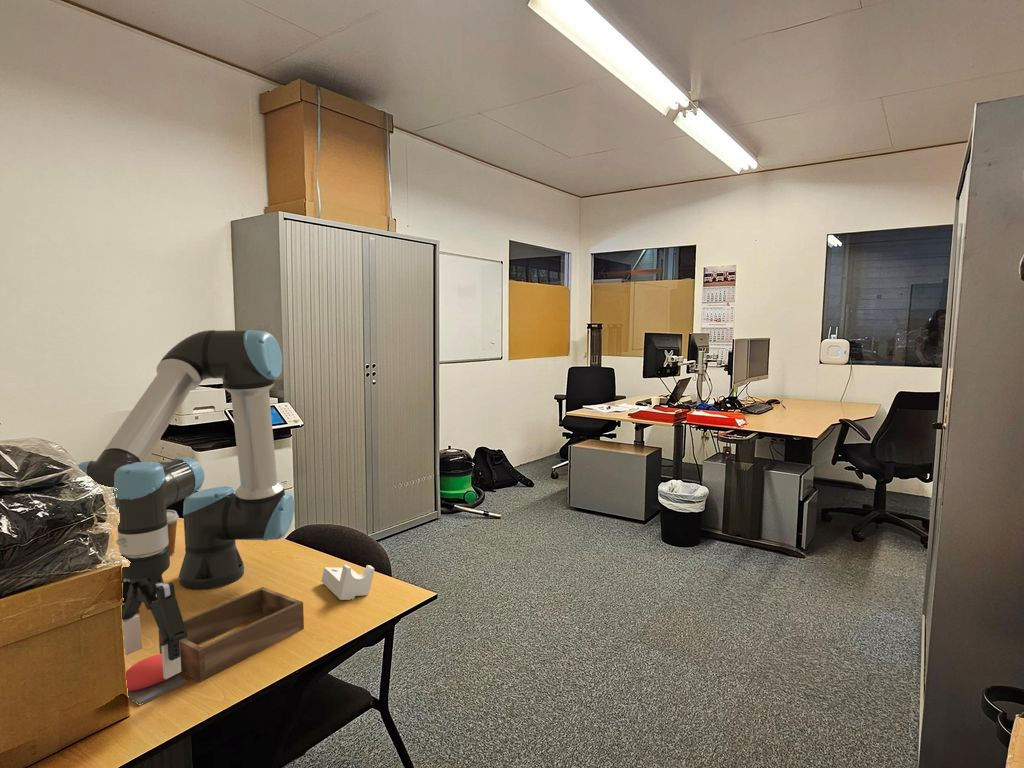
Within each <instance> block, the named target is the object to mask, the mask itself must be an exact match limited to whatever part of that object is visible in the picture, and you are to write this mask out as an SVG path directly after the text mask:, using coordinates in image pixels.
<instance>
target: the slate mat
mask: <svg viewBox="0 0 1024 768" xmlns="http://www.w3.org/2000/svg"><path fill="white" fill-rule="evenodd" d="M184 684H187V679H186V678H185V677H183V676H180V674H176V675H174V676H172V677H170V678H169V679H167V680H165V681H162V682H160V683H157V684H154V685H152V686H149V687H147V688H144V689H140V690H135V691H128V696H129V698H128V699H129V700H130V699H131V700H130V701H132V700H134V701H135V702H137V703H138V704H142V703H145V702H147V703H148V701H149V702H150V700H151V701H153V700H155V699H157V698H158V697H160V696H163V695H165V694H166V693H169V692H170V691H172V690H175V689H177V688H179V687H180V686H182V685H184ZM135 702H134V703H135ZM138 704H137V705H138ZM145 704H146V703H145Z"/></svg>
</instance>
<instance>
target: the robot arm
mask: <svg viewBox="0 0 1024 768" xmlns="http://www.w3.org/2000/svg"><path fill="white" fill-rule="evenodd" d="M282 366H283V355H282V351H281V348H280V345H279V343H278V341H277V339H276V338H275V337H274V335H272V334H271V333H269V332H268V331H264V330H253V329H239V330H237V329H236V330H235V329H231V330H226V329H225V330H214V329H213V330H203V331H199V332H196V333H193V334H191V335H190V336H189V335H188V336H187V337H185V338H183V340H180V342H178V343H176V345H174V346H173V347H172V348H170V350H169V351H168V352H167V353H166V354H165V355H163V357H162V359H161V360H160V361H159V362H158V363H157V366H156V375H155V376H154V378H153V379H152V380H151V383H150V384H149V385H148V387H147V389H145V391H144V393H143V394H142V396H141V397H140V398H139V400H138V401H137V402H136V404H135V405H134V407H133V408H132V410H131V411H130V412H129V414H128V416H127V417H126V418H125V420H124V421H123V422H122V424H121V426H119V428H118V430H117V431H116V432H115V434H114V435H113V437H112V438H111V440H109V443H108V444H107V445H106V446H105V448H104V449H103V451H102V452H101V454H100V455H99V456H98V458H97V459H96V460H95V461H94V460H89V461H83V462H80V463H79V464H77V465H78V466H79V468H80V469H81V470H82V471H83V472H85V473H86V474H87V475H88V476H90V477H91V478H92V479H93V480H94V481H95V482H97V483H98V484H101V485H104V486H108V487H114V488H117V489H118V490H117V489H115V490H116V491H114V490H113V493H114V496H115V501H114V503H115V508H116V507H117V509H118V507H119V513H120V523H119V525H118V524H117V526H118V527H117V537H118V538H117V539H116V540H115V543H116V545H118V551H119V553H120V556H123V557H125V558H126V559H128V560H129V561H130V562H131V563H130V566H129V567H123V568H122V583H123V598H124V601H123V604H122V620H121V621H122V622H121V623H122V624H123V626H122V635H123V636H124V639H123V649H125V652H124V655H125V656H128V655H130V654H133V653H135V652H137V651H140V650H142V649H143V644H142V643H143V641H142V640H143V639H142V628H141V617H140V616H141V615H140V613H141V610H140V608H141V605H142V603H143V604H144V606H145V609H146V610H147V611H151V614H152V616H153V618H154V621H155V624H156V626H157V628H158V631H159V630H160V633H161V635H162V637H163V640H164V641H163V642H162V643H161V644H160V645H161V648H162V663H163V677H164V679H168V678H170V677H172V676H174V675H176V674H177V675H179V674H180V673H181V672H182V671H181V656H180V641H179V640H182V639H184V638H186V637H187V632H186V628H185V625H184V622H183V620H184V619H183V615H182V612H181V609H180V606H179V602H178V600H177V596H176V591H175V590H176V589H175V584H174V582H173V581H170V582H168V583H165V581H164V579H163V574H164V573H165V572H166V571H167V570H168V569H169V568H170V565H171V558H170V557H171V556H169V548H168V547H167V545H168V544H169V538H168V523H167V510H168V509H167V508H168V507H170V506H172V505H174V504H176V503H177V502H180V501H181V500H184V501H183V506H182V507H183V510H182V516H183V529H184V533H183V534H184V546H185V554H184V557H183V560H182V563H181V566H180V571H179V574H178V583H179V586H180V587H182V588H184V589H186V590H187V589H188V590H195V591H196V590H199V591H200V590H210V589H215V588H219V587H224V586H226V585H230V584H232V583H234V582H237V580H239V579H241V578H242V577H243V575H244V573H245V565H244V562H243V561H244V560H243V559H242V557H241V555H240V552H239V550H238V547H237V544H236V541H264V542H265V541H266V542H267V541H273V540H281V539H282V538H284V537H285V536H286V535H287V533H288V531H289V530H290V527H291V525H292V522H293V519H294V514H295V507H296V506H295V505H296V504H295V503H296V502H295V498H294V496H293V495H292V494H290V493H288V492H287V493H286V492H285V485H284V483H283V482H282V481H279V480H278V476H277V474H278V473H277V465H276V454H275V443H274V442H275V441H274V432H273V431H274V430H273V421H272V420H273V419H272V411H271V408H272V407H271V400H270V399H271V398H270V390H271V389H272V388H273V386H274V385H275V381H276V379H277V378H279V376H280V375H281V374H282V370H283V369H282ZM208 379H221V380H222V387H223V389H224V390H225V391H226V392H228V393H229V394H230V396H231V397H230V399H231V406H232V407H231V408H232V415H233V424H234V433H235V434H234V436H235V443H236V444H235V445H236V453H237V463H238V472H239V473H238V474H239V481H240V486H238V487H237V488H236V489H235V490H234V488H233V486H229V485H225V486H217V487H210V488H205V489H202V490H199V489H200V488H201V487H202V486H203V484H204V482H205V472H204V468H203V466H202V465H201V463H199V462H198V461H197V460H196V459H194V458H191V457H185V456H184V457H181V458H180V457H179V458H174V459H172V460H171V461H147V460H148V458H149V457H150V456H151V454H152V452H153V451H154V449H155V448H156V446H157V444H158V443H159V441H160V440H161V438H162V436H163V435H164V433H165V431H166V430H167V428H168V427H169V425H170V423H171V422H172V420H173V419H174V417H175V415H177V412H178V411H179V409H180V408H181V406H182V404H183V403H184V401H185V400H186V398H187V396H188V395H189V393H190V391H194V390H196V389H197V388H198V387H199V386H200V385H201V384H202V382H203V381H206V380H208ZM198 490H199V491H198ZM116 494H117V498H116ZM138 614H139V615H138ZM123 636H122V637H123Z"/></svg>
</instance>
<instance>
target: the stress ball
mask: <svg viewBox="0 0 1024 768" xmlns="http://www.w3.org/2000/svg"><path fill="white" fill-rule="evenodd" d="M125 672H126V680H127V688H128V691H135V690H140V689H144V688H147V687H149V686H152V685H154V684H157V683H160V682H162V681H165V680H167V679H164V677H163V663H162V654H160V653H158V654H154V655H152V656H149V657H146V658H144V659H141V660H139V661H137V662H136V663H134V664H133V665H132V666H130V667H129V668H128V669H127V670H126V671H125ZM168 679H169V678H168Z"/></svg>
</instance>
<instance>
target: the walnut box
mask: <svg viewBox="0 0 1024 768" xmlns="http://www.w3.org/2000/svg"><path fill="white" fill-rule="evenodd" d="M261 616H264V617H263V618H261V619H258V620H256V621H254V622H252V623H249V624H247V625H245V626H243V627H241V628H239V629H236V630H234V631H232V632H230V633H228V634H225V635H223V636H221V637H219V638H217V639H215V640H213V641H211V642H208V643H206V644H204V645H202V646H200V644H202V643H204V642H207V641H210V640H211V639H213V638H216V637H217V636H220V635H222V634H224V633H227V632H229V631H231V630H233V629H235V628H238V627H239V626H241V625H244V624H246V623H248V622H250V621H253V620H255V619H257V618H259V617H261ZM304 617H305V615H304V601H301V600H298V599H296V598H293V597H290V596H287V595H286V594H283V593H280V592H277V591H275V590H272V589H270V588H266V587H264V586H262V587H260V588H256V589H255V590H252V591H250V592H247V593H244V594H243V595H239V596H237V597H234V598H233V599H231V600H228V601H225V602H223V603H221V604H218V605H215V606H213V607H211V608H209V609H206V610H204V611H201V612H198V613H196V614H195V615H191V616H189V617H187V618H185V619H183V622H184V625H185V628H186V632H187V637H186V638H184V639H182V640H179V641H180V656H181V672H182V673H184V674H186V675H187V676H189V677H191V678H193V679H194V680H196V681H198V682H203V681H205V680H207V679H209V678H211V677H213V676H215V675H217V674H219V673H221V672H222V671H223V672H224V670H227V669H228V668H230V667H232V666H234V665H236V664H238V663H240V662H242V661H244V660H245V659H248V658H249V657H252V656H254V655H255V654H257V653H259V652H261V651H263V650H265V649H267V648H269V647H271V646H273V645H275V644H277V643H280V641H282V640H285V639H287V638H288V637H289V638H290V636H293V635H294V634H296V633H298V632H301V631H302V630H304V629H305V625H304V624H305V623H304V622H305V619H304ZM163 641H164V640H163V637H162V635H161V633H160V630H159V629H158V645H159V654H162V648H161V645H160V644H161V643H162V642H163Z"/></svg>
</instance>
